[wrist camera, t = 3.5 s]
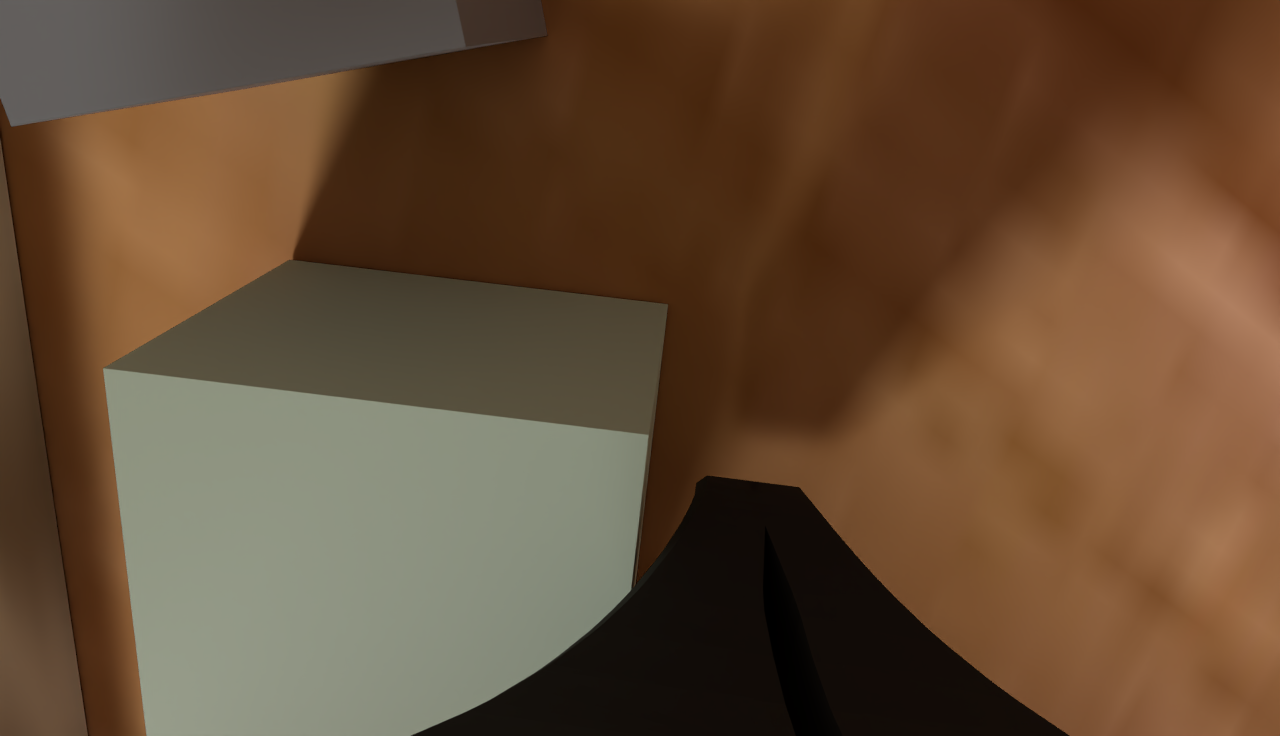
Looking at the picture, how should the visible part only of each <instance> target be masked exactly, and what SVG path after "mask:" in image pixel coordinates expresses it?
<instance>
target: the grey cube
mask: <svg viewBox="0 0 1280 736" xmlns="http://www.w3.org/2000/svg"><path fill="white" fill-rule="evenodd" d="M543 36H548V35H547V30H546V24H545V19H544V14H543V8H542V3H541V0H0V99H1V101H2V104H3V106H4V109H5V112H6V114H7V117H8V119H9V122H10V125H11V127H13V126H19V125H25V124H31V123H37V122H43V121H50V120H56V119H62V118H68V117H74V116H81V115H87V114H93V113H99V112H105V111H112V110H118V109H124V108H130V107H136V106H142V105H149V104H155V103H161V102H167V101H173V100H180V99H186V98H192V97H198V96H204V95H211V94H217V93H223V92H229V91H235V90H241V89H247V88H252V87H258V86H264V85H269V84H275V83H281V82H286V81H292V80H298V79H304V78H309V77H315V76H321V75H326V74H332V73H338V72H343V71H349V70H355V69H361V68H366V67H372V66H378V65H383V64H389V63H395V62H400V61H406V60H412V59H418V58H423V57H429V56H435V55H440V54H446V53H452V52H457V51H463V50H469V49H474V48H480V47H486V46H492V45H497V44H503V43H509V42H514V41H520V40H526V39H531V38H537V37H543Z"/></svg>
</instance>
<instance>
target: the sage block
mask: <svg viewBox="0 0 1280 736" xmlns="http://www.w3.org/2000/svg"><path fill="white" fill-rule="evenodd" d="M667 310H668V304H662V303H653V302H645V301H636V300H628V299H619V298H611V297H602V296H594V295H585V294H577V293H568V292H560V291H551V290H543V289H534V288H526V287H517V286H509V285H500V284H492V283H483V282H475V281H466V280H458V279H449V278H441V277H432V276H424V275H415V274H407V273H398V272H390V271H381V270H373V269H364V268H356V267H347V266H339V265H330V264H322V263H313V262H305V261H296V260H288V261H286V262H285V263H283V264H281V265H280V266H278V267H276V268H274V269H273V270H271V271H269V272H268V273H266V274H264V275H262V276H261V277H259V278H257V279H256V280H254V281H252V282H250V283H249V284H247V285H245V286H244V287H242V288H240V289H238V290H237V291H235V292H233V293H232V294H230V295H228V296H226V297H225V298H223V299H221V300H219V301H218V302H216V303H214V304H213V305H211V306H209V307H207V308H206V309H204V310H202V311H201V312H199V313H197V314H195V315H194V316H192V317H190V318H189V319H187V320H185V321H183V322H182V323H180V324H178V325H177V326H175V327H173V328H171V329H170V330H168V331H166V332H165V333H163V334H161V335H159V336H158V337H156V338H154V339H153V340H151V341H149V342H147V343H146V344H144V345H142V346H141V347H139V348H137V349H135V350H134V351H132V352H130V353H128V354H127V355H125V356H123V357H122V358H120V359H118V360H116V361H115V362H113V363H111V364H110V365H108V366H106V367H104V368H103V371H104V380H105V388H106V397H107V405H108V414H109V422H110V431H111V439H112V448H113V456H114V465H115V473H116V482H117V490H118V498H119V507H120V515H121V524H122V532H123V541H124V549H125V558H126V566H127V575H128V583H129V592H130V600H131V608H132V617H133V625H134V634H135V642H136V651H137V659H138V668H139V676H140V685H141V693H142V702H143V710H144V719H145V727H146V735H147V736H411V735H413V734H416V733H418V732H420V731H423V730H425V729H427V728H430V727H432V726H434V725H437V724H439V723H441V722H443V721H446V720H448V719H450V718H453V717H455V716H457V715H460V714H462V713H464V712H467V711H469V710H471V709H473V708H475V707H477V706H479V705H481V704H483V703H485V702H487V701H488V700H490V699H492V698H494V697H496V696H497V695H499V694H501V693H502V692H504V691H505V690H507V689H509V688H510V687H512V686H514V685H515V684H517V683H519V682H520V681H522V680H524V679H525V678H527V677H529V676H530V675H532V674H534V673H535V672H537V671H538V670H539V669H541V668H542V667H544V666H545V665H547V664H548V663H549V662H551V661H552V660H553V659H555V658H556V657H558V656H559V655H560V654H561V653H563V652H564V651H565V650H566V649H568V648H569V647H570V646H571V645H573V644H574V643H575V642H576V641H578V640H579V639H580V638H581V637H583V636H584V635H585V634H586V633H588V632H589V631H590V630H591V629H592V628H593V627H594V626H595V625H597V624H598V623H599V622H600V621H601V620H602V619H603V618H604V617H605V616H606V615H607V614H608V613H609V612H611V611H612V610H613V609H614V608H615V607H616V606H617V605H618V604H619V603H620V601H621V600H622V599H623V598H624V597H625V596H626V595H627V594H628V593H629V592H630V591H631V590H632V589H633V587H634V586H635V585H636V576H637V567H638V559H639V550H640V542H641V533H642V525H643V516H644V507H645V499H646V490H647V482H648V473H649V465H650V456H651V447H652V439H653V430H654V422H655V413H656V404H657V396H658V387H659V379H660V370H661V362H662V353H663V344H664V336H665V327H666V319H667Z"/></svg>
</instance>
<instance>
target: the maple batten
mask: <svg viewBox="0 0 1280 736" xmlns="http://www.w3.org/2000/svg"><path fill="white" fill-rule="evenodd" d="M0 736H88V733H87V726H86V720H85V713H84V706H83V699H82V692H81V686H80V679H79V672H78V665H77V658H76V651H75V645H74V638H73V631H72V624H71V617H70V611H69V604H68V597H67V590H66V583H65V576H64V570H63V563H62V556H61V549H60V542H59V536H58V529H57V522H56V515H55V508H54V501H53V495H52V488H51V481H50V474H49V467H48V461H47V454H46V447H45V440H44V433H43V426H42V420H41V413H40V406H39V399H38V392H37V386H36V379H35V372H34V365H33V358H32V351H31V345H30V338H29V331H28V324H27V317H26V311H25V304H24V297H23V290H22V283H21V276H20V270H19V263H18V256H17V249H16V242H15V235H14V229H13V222H12V215H11V208H10V201H9V195H8V188H7V181H6V174H5V167H4V160H3V154H2V147H1V140H0Z"/></svg>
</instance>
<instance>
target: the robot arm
mask: <svg viewBox="0 0 1280 736" xmlns="http://www.w3.org/2000/svg"><path fill="white" fill-rule="evenodd" d="M411 736H1069V735H1068V734H1066V733H1065V732H1063V731H1062V730H1060V729H1059V728H1057V727H1056V726H1054V725H1053V724H1051V723H1050V722H1048V721H1047V720H1045V719H1044V718H1042V717H1041V716H1039V715H1038V714H1037V713H1035V712H1034V711H1032V710H1031V709H1029V708H1028V707H1026V706H1025V705H1023V704H1022V703H1020V702H1019V701H1017V700H1016V699H1015V698H1013V697H1012V696H1011V695H1009V694H1008V693H1006V692H1005V691H1004V690H1002V689H1001V688H1000V687H998V686H997V685H995V684H994V683H993V682H992V681H990V680H989V679H988V678H986V677H985V676H984V675H983V674H981V673H980V672H979V671H978V670H977V669H975V668H974V667H973V666H972V665H970V664H969V663H968V662H967V661H965V660H964V659H963V658H962V657H960V656H959V655H958V654H957V653H955V652H954V651H953V650H952V649H951V648H949V647H948V646H947V645H946V644H945V643H943V642H942V641H941V640H940V639H939V638H938V637H937V636H935V635H934V634H933V633H932V632H931V631H930V630H929V629H928V628H926V627H925V626H924V625H923V624H922V623H921V622H920V621H919V620H918V619H917V618H916V617H915V616H914V615H913V614H912V613H911V612H910V611H909V610H908V609H907V608H906V607H905V606H904V605H903V604H902V603H901V602H899V601H898V600H897V599H896V598H895V597H894V596H893V595H892V594H891V593H890V592H889V591H888V590H887V588H886V587H885V586H884V585H883V584H882V583H881V582H880V581H879V580H878V579H877V578H876V577H875V576H874V575H873V574H872V573H871V572H870V570H869V569H868V568H867V567H866V566H865V565H864V564H863V563H862V562H861V561H860V559H859V558H858V557H857V556H856V555H855V554H854V553H853V551H852V550H851V549H850V548H849V547H848V546H847V544H846V543H845V542H844V541H843V540H842V539H841V537H840V536H839V535H838V534H837V533H836V531H835V530H834V529H833V528H832V527H831V525H830V524H829V523H828V522H827V521H826V519H825V518H824V517H823V516H822V514H821V513H820V512H819V511H818V509H817V508H816V507H815V506H814V505H813V503H812V502H811V501H810V500H809V498H808V497H807V496H806V495H805V494H804V492H803V491H802V490H801V489H800V488H799V487H792V486H785V485H777V484H769V483H761V482H753V481H745V480H738V479H730V478H722V477H714V476H706V477H704V478H703V479H701V480H700V481H699V482H697V483H696V489H695V495H694V498H693V501H692V503H691V505H690V507H689V509H688V511H687V513H686V515H685V517H684V519H683V521H682V522H681V524H680V526H679V527H678V529H677V530H676V532H675V533H674V535H673V536H672V538H671V539H670V541H669V543H668V544H667V546H666V547H665V549H664V550H663V551H662V553H661V554H660V556H659V557H658V558H657V559H656V561H655V562H654V563H653V564H652V566H651V567H650V568H649V569H648V570H647V572H646V573H645V574H644V575H643V577H642V578H641V579H640V580H639V581H638V583H637V584H636V585H635V586H634V587H633V589H632V590H631V591H630V592H629V593H628V594H627V595H626V596H625V597H624V598H623V599H622V600H621V601H620V603H619V604H618V605H617V606H616V607H615V608H614V609H613V610H612V611H611V612H609V613H608V614H607V615H606V616H605V617H604V618H603V619H602V620H601V621H600V622H599V623H598V624H597V625H595V626H594V627H593V628H592V629H591V630H590V631H589V632H588V633H586V634H585V635H584V636H583V637H581V638H580V639H579V640H578V641H576V642H575V643H574V644H573V645H571V646H570V647H569V648H568V649H566V650H565V651H564V652H563V653H561V654H560V655H559V656H558V657H556V658H555V659H553V660H552V661H551V662H549V663H548V664H547V665H545V666H544V667H542V668H541V669H539V670H538V671H537V672H535V673H534V674H532V675H530V676H529V677H527V678H525V679H524V680H522V681H520V682H519V683H517V684H515V685H514V686H512V687H510V688H509V689H507V690H505V691H504V692H502V693H501V694H499V695H497V696H496V697H494V698H492V699H490V700H488V701H487V702H485V703H483V704H481V705H479V706H477V707H475V708H473V709H471V710H469V711H467V712H464V713H462V714H460V715H457V716H455V717H453V718H450V719H448V720H446V721H443V722H441V723H439V724H437V725H434V726H432V727H430V728H427V729H425V730H423V731H420V732H418V733H416V734H413V735H411Z"/></svg>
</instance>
